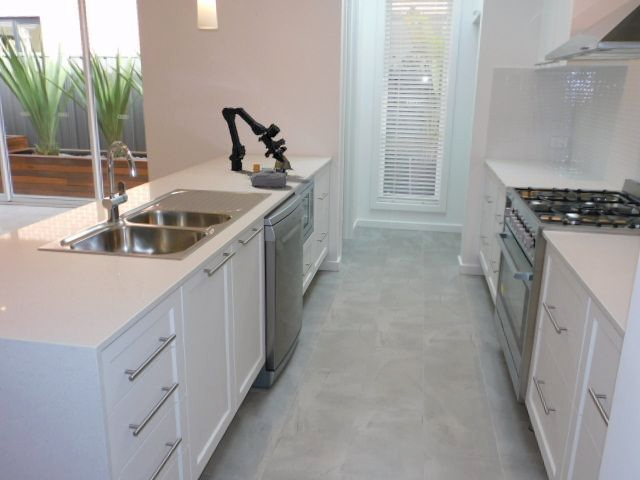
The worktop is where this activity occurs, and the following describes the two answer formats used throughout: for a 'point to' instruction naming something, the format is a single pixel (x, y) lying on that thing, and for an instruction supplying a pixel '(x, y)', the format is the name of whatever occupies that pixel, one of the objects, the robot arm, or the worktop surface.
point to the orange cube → (256, 167)
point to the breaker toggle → (283, 164)
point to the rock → (278, 163)
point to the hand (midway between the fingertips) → (284, 162)
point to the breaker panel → (273, 170)
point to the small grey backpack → (269, 179)
